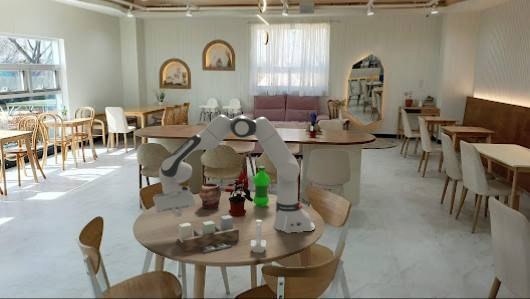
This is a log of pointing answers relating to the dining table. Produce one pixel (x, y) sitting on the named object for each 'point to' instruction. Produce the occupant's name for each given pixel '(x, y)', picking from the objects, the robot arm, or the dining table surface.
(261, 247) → the white upright post stand
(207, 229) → the sage key
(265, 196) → the plastic bottle
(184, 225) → the cream rectangular block
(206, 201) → the decorative planter
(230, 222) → the pale blue upright block
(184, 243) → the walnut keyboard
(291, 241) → the dining table surface
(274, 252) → the dining table surface
